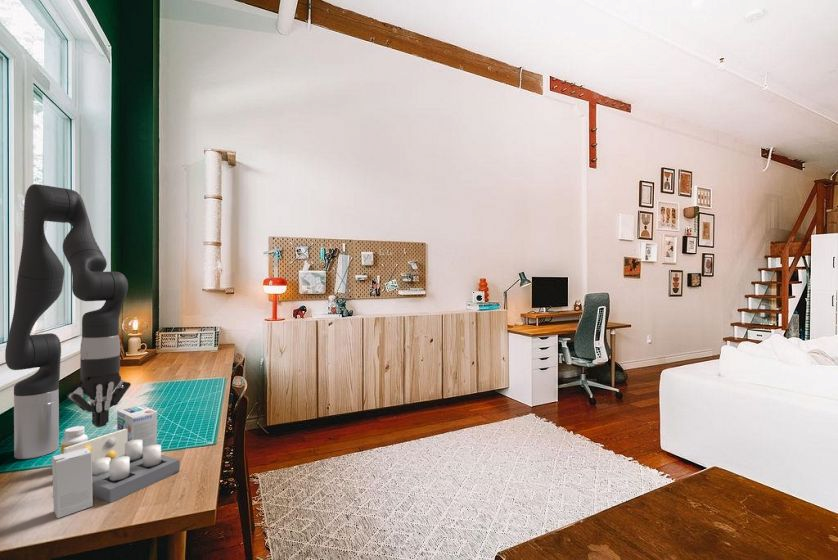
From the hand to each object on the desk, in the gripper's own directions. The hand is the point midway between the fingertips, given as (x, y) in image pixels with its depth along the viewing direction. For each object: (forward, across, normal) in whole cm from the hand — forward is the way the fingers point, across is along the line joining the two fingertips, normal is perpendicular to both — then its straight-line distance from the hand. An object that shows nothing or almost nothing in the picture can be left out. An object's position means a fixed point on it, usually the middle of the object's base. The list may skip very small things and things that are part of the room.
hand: (100, 426), depth 99 cm
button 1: (+12, 0, 0) cm, 12 cm away
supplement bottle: (+14, -2, -16) cm, 21 cm away
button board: (+14, -4, +4) cm, 15 cm away
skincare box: (+14, +9, +8) cm, 18 cm away
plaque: (+14, -4, -8) cm, 17 cm away
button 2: (+10, 0, +8) cm, 13 cm away
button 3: (+11, -8, 0) cm, 13 cm away
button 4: (+10, -8, +8) cm, 15 cm away
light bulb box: (+14, -16, -13) cm, 25 cm away
